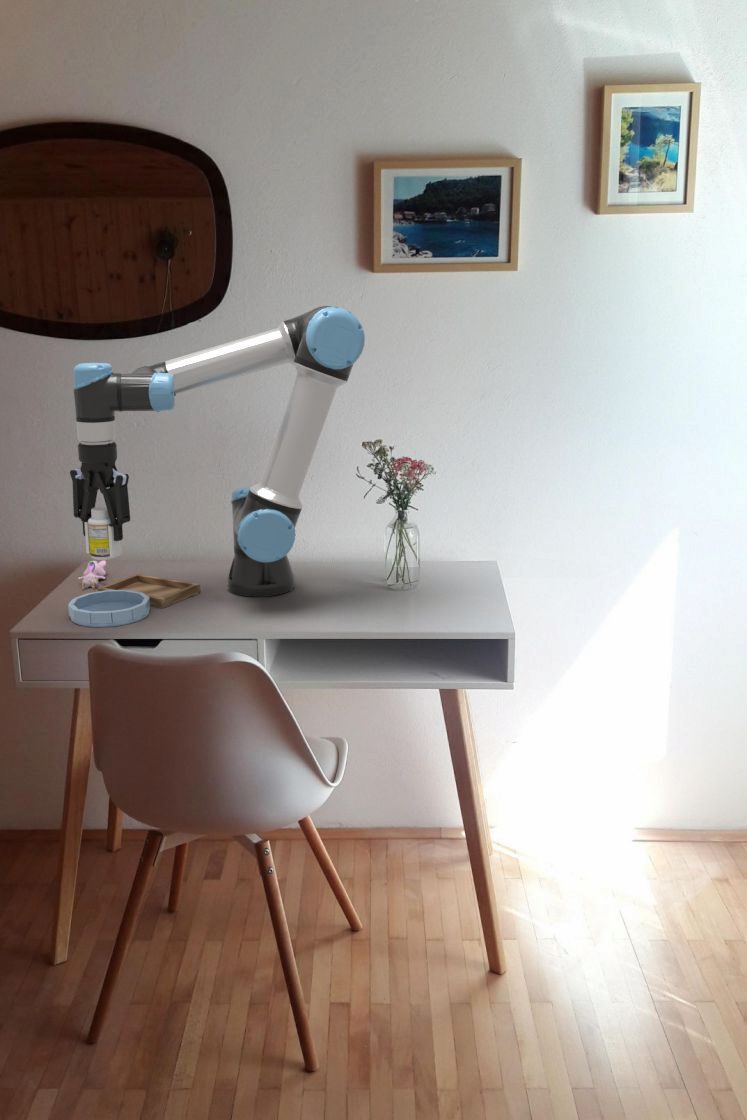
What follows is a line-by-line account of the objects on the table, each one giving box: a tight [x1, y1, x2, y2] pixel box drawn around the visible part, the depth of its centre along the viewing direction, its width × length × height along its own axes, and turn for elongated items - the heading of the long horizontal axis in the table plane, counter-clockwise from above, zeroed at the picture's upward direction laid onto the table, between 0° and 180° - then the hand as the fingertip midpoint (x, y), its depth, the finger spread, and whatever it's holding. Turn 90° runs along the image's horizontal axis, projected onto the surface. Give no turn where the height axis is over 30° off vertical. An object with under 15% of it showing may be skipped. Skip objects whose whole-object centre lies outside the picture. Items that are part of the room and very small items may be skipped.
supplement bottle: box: [88, 506, 118, 561], centre depth 218 cm, size 6×6×10 cm
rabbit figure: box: [77, 560, 107, 590], centre depth 246 cm, size 6×6×15 cm
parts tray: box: [97, 573, 201, 609], centre depth 236 cm, size 18×13×2 cm
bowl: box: [67, 590, 151, 628], centre depth 222 cm, size 16×16×3 cm
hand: (104, 553), depth 219 cm, fingers closed on supplement bottle, 6 cm apart
